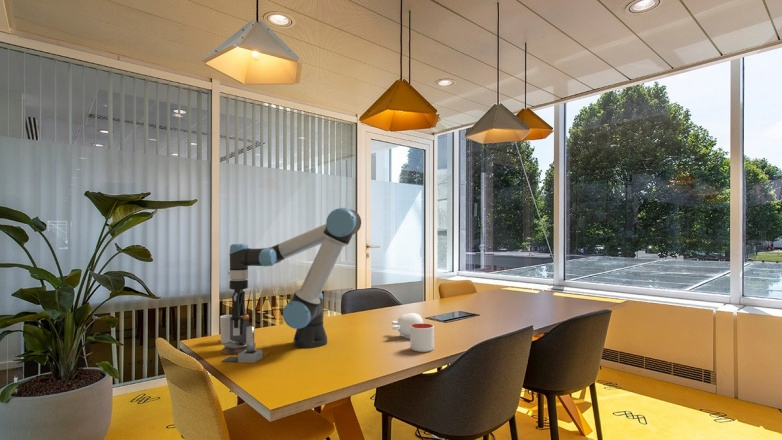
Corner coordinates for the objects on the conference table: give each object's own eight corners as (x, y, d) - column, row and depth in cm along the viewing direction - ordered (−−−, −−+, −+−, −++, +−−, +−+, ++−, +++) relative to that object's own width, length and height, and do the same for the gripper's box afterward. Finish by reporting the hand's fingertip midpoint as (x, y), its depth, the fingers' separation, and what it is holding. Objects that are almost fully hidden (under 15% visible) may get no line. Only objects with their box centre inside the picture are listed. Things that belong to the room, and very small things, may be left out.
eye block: (262, 357, 176) (262, 349, 176) (254, 362, 169) (254, 354, 169) (246, 356, 177) (246, 349, 177) (237, 361, 170) (237, 354, 170)
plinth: (255, 347, 191) (255, 342, 191) (244, 354, 181) (244, 348, 181) (234, 347, 192) (234, 342, 192) (222, 353, 182) (222, 348, 182)
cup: (437, 347, 187) (437, 324, 187) (429, 354, 178) (429, 329, 178) (415, 345, 191) (415, 322, 191) (406, 351, 182) (406, 327, 182)
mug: (236, 343, 199) (236, 316, 199) (220, 344, 196) (220, 318, 196) (234, 338, 208) (234, 313, 208) (219, 339, 205) (219, 314, 205)
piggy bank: (424, 338, 209) (393, 341, 209) (421, 313, 213) (391, 316, 213) (425, 336, 198) (393, 339, 197) (423, 310, 201) (390, 313, 201)
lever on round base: (243, 340, 195) (243, 310, 195) (259, 344, 187) (259, 313, 188) (218, 346, 185) (218, 314, 186) (234, 350, 178) (234, 317, 178)
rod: (255, 358, 174) (255, 326, 174) (252, 360, 171) (252, 327, 172) (248, 358, 175) (248, 325, 175) (245, 360, 172) (245, 327, 172)
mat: (243, 357, 175) (243, 356, 175) (236, 362, 170) (236, 361, 170) (229, 357, 176) (229, 356, 176) (221, 361, 170) (221, 360, 170)
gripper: (235, 277, 196) (235, 328, 196) (223, 282, 177) (223, 339, 177) (252, 276, 197) (252, 327, 197) (242, 282, 178) (242, 338, 178)
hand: (238, 333), depth 187 cm, fingers closed on lever on round base, 6 cm apart
